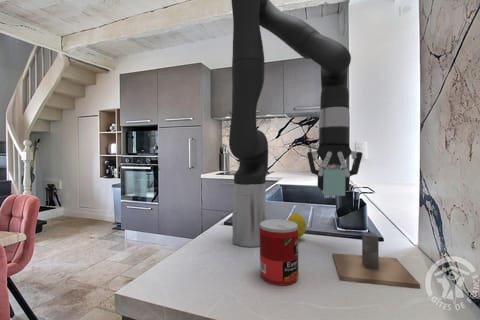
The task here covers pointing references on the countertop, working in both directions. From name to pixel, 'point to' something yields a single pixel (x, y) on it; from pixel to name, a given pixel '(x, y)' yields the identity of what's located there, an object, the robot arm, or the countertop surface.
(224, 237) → the countertop surface
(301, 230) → the lemon
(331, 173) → the mint foam cube
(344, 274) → the stand
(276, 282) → the canned food
